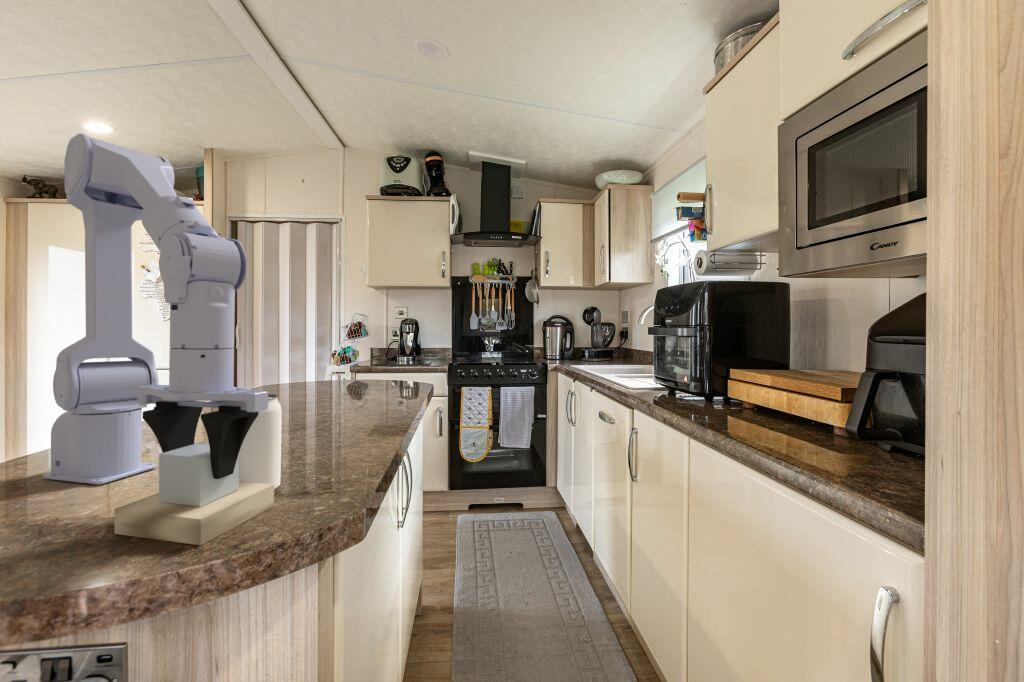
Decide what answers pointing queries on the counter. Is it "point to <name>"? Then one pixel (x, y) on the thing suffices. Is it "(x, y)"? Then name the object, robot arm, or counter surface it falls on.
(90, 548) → the counter surface
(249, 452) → the can
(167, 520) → the base
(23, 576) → the counter surface
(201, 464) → the block
